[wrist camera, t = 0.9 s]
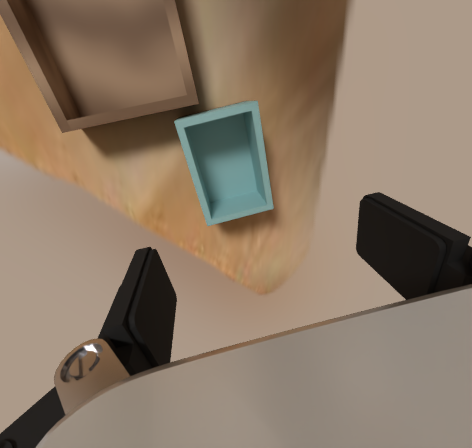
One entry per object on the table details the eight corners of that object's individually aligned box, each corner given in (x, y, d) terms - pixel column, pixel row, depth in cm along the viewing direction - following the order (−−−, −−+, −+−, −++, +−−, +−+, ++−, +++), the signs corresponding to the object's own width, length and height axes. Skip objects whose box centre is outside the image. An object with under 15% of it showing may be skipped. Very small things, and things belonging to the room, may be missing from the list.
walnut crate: (-32, -107, 15) (-90, -159, 12) (142, -136, 16) (129, -194, 13) (80, 128, 22) (62, 132, 19) (198, 103, 23) (198, 103, 20)
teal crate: (178, 117, 23) (174, 121, 19) (246, 101, 23) (257, 100, 19) (205, 206, 28) (207, 226, 23) (261, 192, 28) (273, 208, 24)
